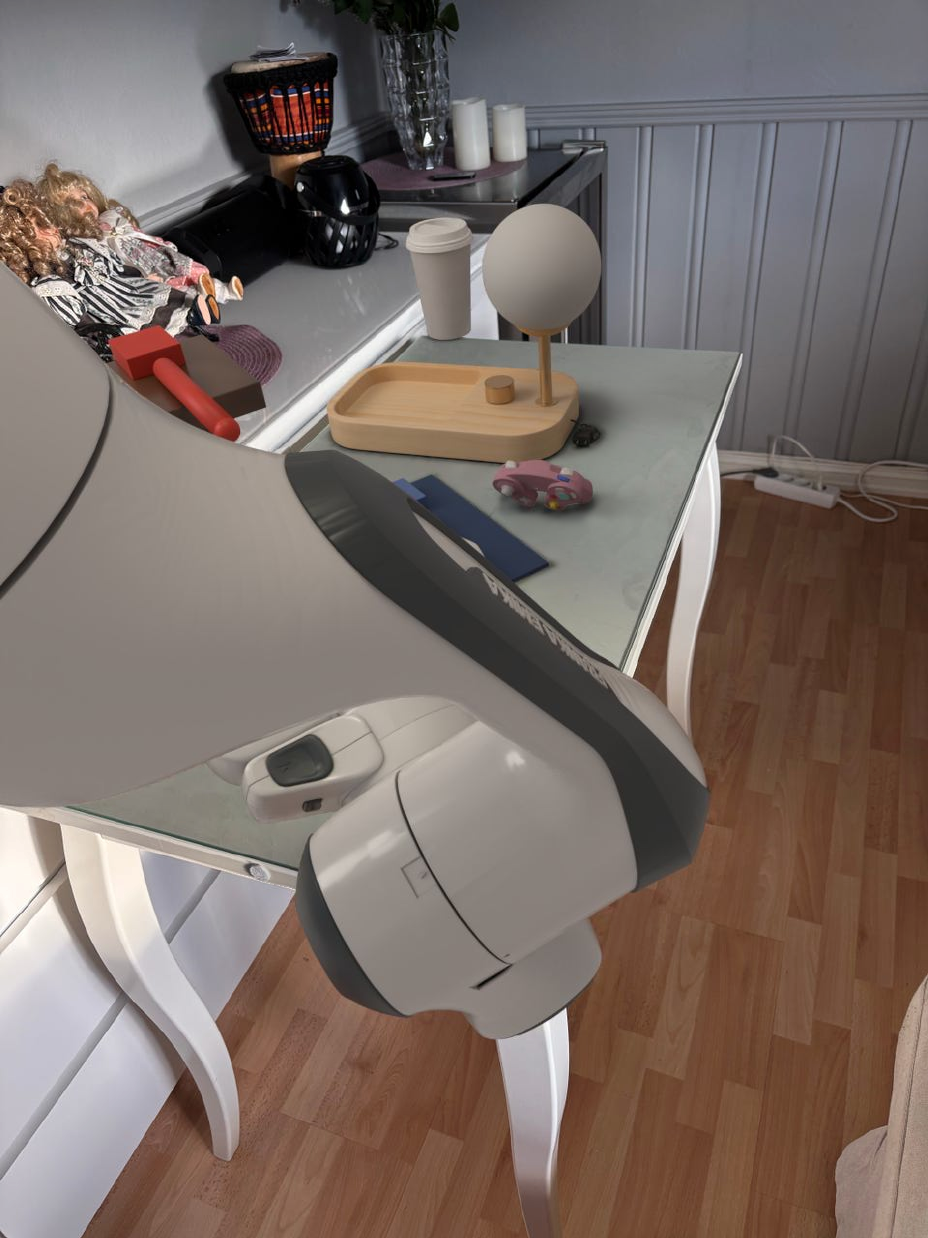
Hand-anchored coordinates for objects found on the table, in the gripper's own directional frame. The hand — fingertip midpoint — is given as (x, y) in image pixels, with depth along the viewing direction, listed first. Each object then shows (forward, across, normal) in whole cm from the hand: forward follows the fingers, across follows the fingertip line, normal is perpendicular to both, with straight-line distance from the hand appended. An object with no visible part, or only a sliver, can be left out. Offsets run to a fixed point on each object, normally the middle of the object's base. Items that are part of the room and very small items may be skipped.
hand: (284, 542), depth 55 cm
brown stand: (+6, 0, +28) cm, 29 cm away
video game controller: (+8, -34, +30) cm, 46 cm away
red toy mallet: (+16, 0, +4) cm, 16 cm away
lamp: (+26, -38, +40) cm, 61 cm away
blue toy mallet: (+10, -22, +30) cm, 39 cm away
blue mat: (+9, -22, +30) cm, 39 cm away
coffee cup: (+49, -52, +54) cm, 89 cm away
